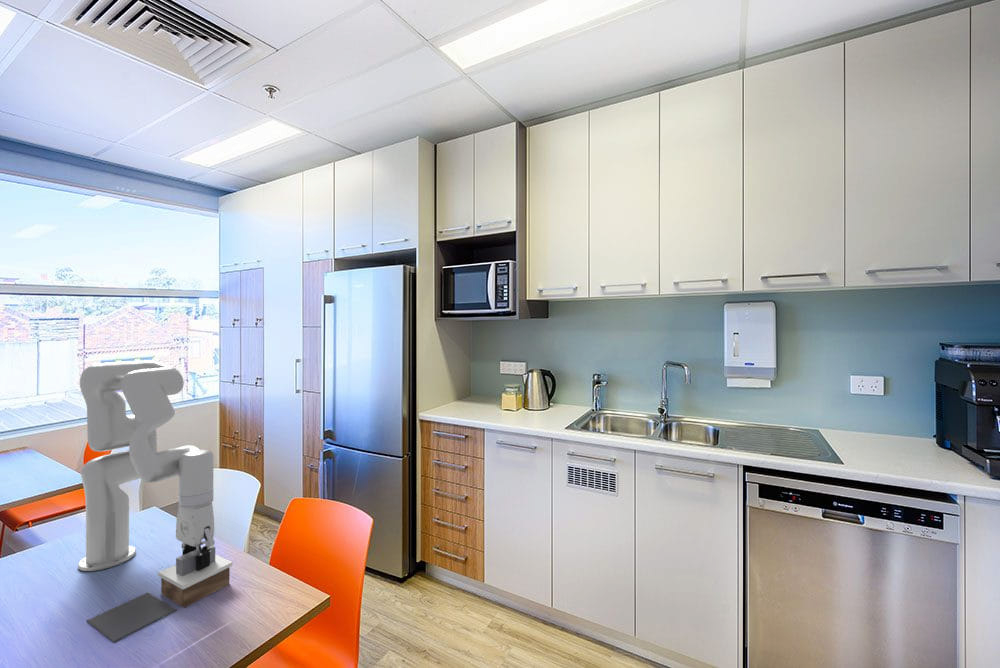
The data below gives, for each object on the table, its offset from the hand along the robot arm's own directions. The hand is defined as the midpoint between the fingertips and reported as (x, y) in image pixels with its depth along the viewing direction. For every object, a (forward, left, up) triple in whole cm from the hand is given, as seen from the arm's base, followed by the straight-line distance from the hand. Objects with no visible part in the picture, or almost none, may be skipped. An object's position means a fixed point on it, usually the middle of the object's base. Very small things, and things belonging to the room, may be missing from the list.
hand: (196, 564), depth 112 cm
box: (0, 0, -7) cm, 7 cm away
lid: (0, 0, -2) cm, 2 cm away
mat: (-2, -13, -7) cm, 15 cm away
